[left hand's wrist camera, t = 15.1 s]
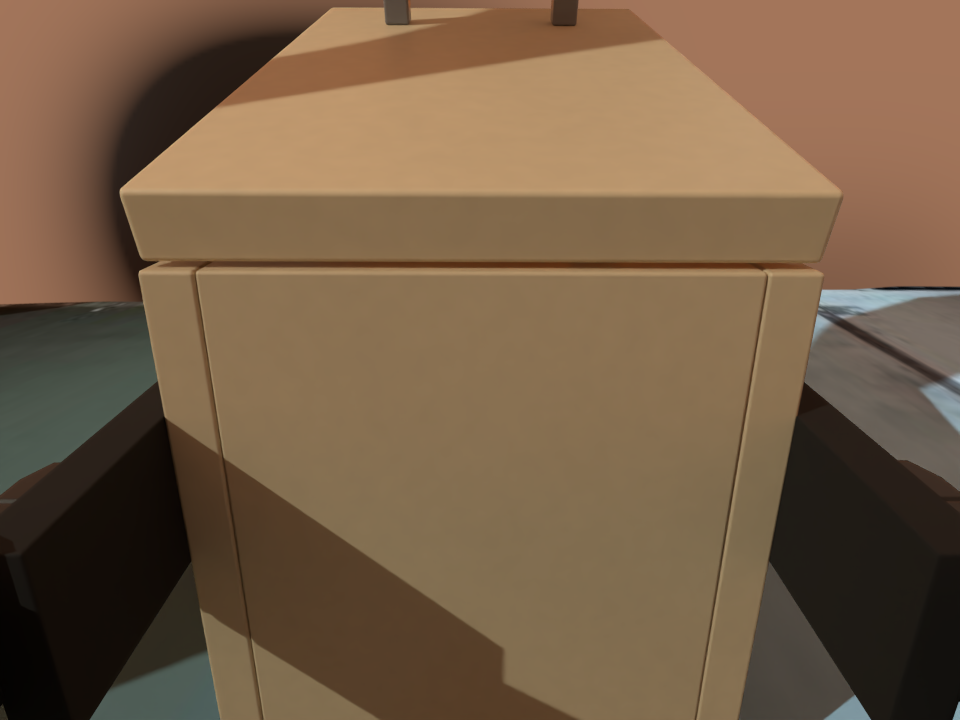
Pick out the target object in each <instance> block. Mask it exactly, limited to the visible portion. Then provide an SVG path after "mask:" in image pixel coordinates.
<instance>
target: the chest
mask: <svg viewBox="0 0 960 720" xmlns="http://www.w3.org/2000/svg"><path fill="white" fill-rule="evenodd" d="M139 280H140V286H141V291H142V297H143V302H144V307H145V313H146V318H147V324H148V329H149V335H150V340H151V345H152V351H153V356H154V362H155V367H156V373H157V378H158V383H159V389H160V394H161V400H162V405H163V411H164V416H165V421H166V427H167V432H168V438H169V443H170V448H171V454H172V459H173V465H174V470H175V476H176V481H177V486H178V492H179V497H180V503H181V508H182V513H183V519H184V524H185V529H186V535H187V540H188V545H189V551H190V556H191V562H192V568H193V573H194V579H195V584H196V589H197V595H198V600H199V606H200V611H201V617H202V622H203V627H204V633H205V638H206V644H207V649H208V655H209V660H210V665H211V671H212V676H213V682H214V687H215V693H216V698H217V703H218V709H219V714H220V720H738V719H739V714H740V709H741V704H742V699H743V694H744V689H745V683H746V678H747V673H748V668H749V663H750V658H751V652H752V647H753V642H754V637H755V632H756V627H757V621H758V616H759V611H760V606H761V601H762V596H763V590H764V585H765V580H766V575H767V570H768V565H769V558H770V553H771V547H772V542H773V537H774V532H775V526H776V521H777V516H778V510H779V505H780V500H781V495H782V489H783V484H784V479H785V474H786V468H787V463H788V458H789V453H790V447H791V442H792V437H793V432H794V426H795V421H796V416H797V415H798V410H799V405H800V399H801V394H802V389H803V384H804V379H805V374H806V368H807V363H808V358H809V353H810V348H811V343H812V338H813V332H814V327H815V322H816V317H817V312H818V307H819V301H820V296H821V291H822V286H823V281H824V274H823V273H821V272H819V271H817V270H815V269H813V268H811V267H809V266H807V265H804V264H802V263H628V262H332V261H160V262H158V263H156V264H154V265H152V266H149V267H147V268H145V269H143V270H141V271H139Z"/></svg>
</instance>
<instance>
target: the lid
mask: <svg viewBox="0 0 960 720" xmlns="http://www.w3.org/2000/svg"><path fill="white" fill-rule="evenodd" d="M120 197H121V200H122V203H123V206H124V209H125V212H126V215H127V218H128V221H129V224H130V227H131V230H132V233H133V236H134V239H135V242H136V245H137V248H138V251H139V254H140V256H141V258H142V259H143V260H146V261H332V262H628V263H818V262H820V261H821V260H822V258H823V255H824V252H825V249H826V247H827V244H828V241H829V238H830V235H831V232H832V229H833V226H834V223H835V220H836V218H837V215H838V212H839V209H840V206H841V203H842V200H843V191H842V190H840V189H839V188H838V187H837V186H836V185H835V184H833V183H832V182H831V181H830V180H829V179H828V178H826V177H825V176H824V175H823V174H822V173H820V172H819V171H818V170H817V169H816V168H815V167H813V166H812V165H811V164H810V163H809V162H808V161H806V160H805V159H804V158H803V157H802V156H801V155H799V154H798V153H797V152H796V151H795V150H794V149H792V148H791V147H790V146H789V145H788V144H787V143H785V142H784V141H783V140H782V139H781V138H779V137H778V136H777V135H776V134H775V133H774V132H772V131H771V130H770V129H769V128H768V127H767V126H765V125H764V124H763V123H762V122H761V121H760V120H758V119H757V118H756V117H755V116H754V115H753V114H751V113H750V112H749V111H748V110H747V109H746V108H744V107H743V106H742V105H741V104H740V103H739V102H737V101H736V100H735V99H734V98H733V97H731V96H730V95H729V94H728V93H727V92H726V91H724V90H723V89H722V88H721V87H720V86H719V85H717V84H716V83H715V82H714V81H713V80H712V79H710V78H709V77H708V76H707V75H706V74H704V73H703V72H702V71H701V70H700V69H699V68H698V67H696V66H695V65H694V64H693V63H692V62H690V61H689V60H688V59H687V58H686V57H685V56H683V55H682V54H681V53H680V52H679V51H678V50H676V49H675V48H674V47H673V46H672V45H671V44H669V43H668V42H667V41H666V40H665V39H664V38H662V37H661V36H660V35H659V34H658V33H656V32H655V31H654V30H653V29H652V28H651V27H649V26H648V25H647V24H646V23H645V22H644V21H642V20H641V19H640V18H639V17H638V16H637V15H635V14H634V13H633V12H632V11H631V10H629V9H578V0H552V3H551V9H503V8H499V9H498V8H411V7H410V0H384V8H332V9H330V10H329V11H328V12H327V13H326V14H324V15H323V16H322V17H321V18H320V19H318V20H317V21H316V22H315V23H314V24H313V25H311V26H310V27H309V28H308V29H307V30H306V31H304V32H303V33H302V34H301V35H300V36H299V37H297V38H296V39H295V40H294V41H293V42H292V43H290V44H289V45H288V46H287V47H286V48H285V49H283V50H282V51H281V52H280V53H279V54H278V55H276V56H275V57H274V58H273V59H272V60H271V61H269V62H268V63H267V64H266V65H265V66H264V67H262V68H261V69H260V70H259V71H258V72H256V73H255V74H254V75H253V76H252V77H251V78H249V79H248V80H247V81H246V82H245V83H244V84H242V85H241V86H240V87H239V88H238V89H237V90H235V91H234V92H233V93H232V94H231V95H230V96H228V97H227V98H226V99H225V100H224V101H223V102H221V103H220V104H219V105H218V106H217V107H216V108H214V109H213V110H212V111H211V112H210V113H209V114H207V115H206V116H205V117H204V118H203V119H202V120H200V121H199V122H198V123H197V124H196V125H195V126H193V127H192V128H191V129H190V130H189V131H188V132H186V133H185V134H184V135H183V136H182V137H181V138H179V139H178V140H177V141H176V142H175V143H173V144H172V145H171V146H170V147H169V148H168V149H167V150H165V151H164V152H163V153H162V154H161V155H159V156H158V157H157V158H156V159H155V160H154V161H152V162H151V163H150V164H149V165H148V166H147V167H146V168H144V169H143V170H142V171H141V172H140V173H138V174H137V175H136V176H135V177H134V178H133V179H131V180H130V181H129V182H128V183H127V184H126V185H124V186H123V187H122V188H121V189H120Z"/></svg>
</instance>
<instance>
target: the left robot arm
mask: <svg viewBox="0 0 960 720" xmlns="http://www.w3.org/2000/svg"><path fill="white" fill-rule="evenodd" d="M769 561H770V563H771V564H772V566H773V567H774V569H775V570H776V572H777V573H778V575H779V577H780V578H781V580H782V581H783V583H784V584H785V586H786V588H787V589H788V591H789V592H790V594H791V595H792V597H793V598H794V600H795V602H796V603H797V605H798V606H799V608H800V609H801V611H802V612H803V614H804V616H805V617H806V619H807V620H808V622H809V623H810V625H811V627H812V628H813V630H814V631H815V633H816V634H817V636H818V637H819V639H820V641H821V642H822V644H823V645H824V647H825V648H826V650H827V651H828V653H829V655H830V656H831V658H832V659H833V661H834V662H835V664H836V666H837V667H838V669H839V670H840V672H841V673H842V675H843V676H844V678H845V680H846V681H847V683H848V684H849V686H850V687H851V689H852V690H853V692H854V694H855V695H856V697H857V698H858V700H859V701H860V703H861V705H862V706H863V708H864V709H865V711H866V712H867V714H868V715H869V717H870V719H871V720H953V717H954V714H955V711H956V708H957V705H958V702H960V492H959V491H958V490H957V489H956V488H954V487H953V486H952V485H951V484H949V483H948V482H947V481H945V480H944V479H943V478H942V477H940V476H938V475H936V474H934V473H932V472H930V471H928V470H926V469H924V468H922V467H920V466H918V465H916V464H913V463H911V462H909V461H907V460H896V459H895V458H894V457H893V456H892V455H890V454H889V453H888V452H887V451H886V450H884V449H883V448H882V447H881V446H880V445H878V444H877V443H876V442H875V441H874V440H872V439H871V438H870V437H869V436H868V435H866V434H865V433H864V432H863V431H862V430H861V429H859V428H858V427H857V426H856V425H855V424H853V423H852V422H851V421H850V420H849V419H847V418H846V417H845V416H844V415H843V414H841V413H840V412H839V411H838V410H837V409H836V408H834V407H833V406H832V405H831V404H830V403H828V402H827V401H826V400H825V399H824V398H822V397H821V396H820V395H819V394H818V393H816V392H815V391H814V390H813V389H812V388H810V387H809V386H808V385H807V384H806V383H805V382H804V384H803V389H802V394H801V399H800V405H799V410H798V415H797V416H796V421H795V426H794V432H793V437H792V442H791V447H790V453H789V458H788V463H787V468H786V474H785V479H784V484H783V489H782V495H781V500H780V505H779V510H778V516H777V521H776V526H775V532H774V537H773V542H772V547H771V553H770V558H769ZM190 562H191V556H190V551H189V545H188V540H187V535H186V529H185V524H184V519H183V513H182V508H181V503H180V497H179V492H178V486H177V481H176V476H175V470H174V465H173V459H172V454H171V448H170V443H169V438H168V432H167V427H166V421H165V416H164V411H163V405H162V400H161V394H160V389H159V383H158V381H157V382H156V383H155V384H154V385H153V386H151V387H150V388H149V389H148V390H147V391H145V392H144V393H143V394H142V395H141V396H140V397H138V398H137V399H136V400H135V401H134V402H132V403H131V404H130V405H129V406H128V407H126V408H125V409H124V410H123V411H122V412H120V413H119V414H118V415H117V416H116V417H115V418H113V419H112V420H111V421H110V422H109V423H107V424H106V425H105V426H104V427H103V428H101V429H100V430H99V431H98V432H97V433H95V434H94V435H93V436H92V437H91V438H89V439H88V440H87V441H86V442H85V443H84V444H82V445H81V446H80V447H79V448H78V449H76V450H75V451H74V452H73V453H72V454H70V455H69V456H68V457H67V458H66V459H64V460H63V461H62V462H61V463H52V464H50V465H48V466H46V467H44V468H42V469H40V470H38V471H36V472H34V473H32V474H30V475H28V476H26V477H24V478H22V479H20V480H19V481H18V482H16V483H15V484H14V485H13V486H11V487H10V488H9V489H8V490H6V491H5V492H4V493H3V494H1V495H0V706H1V705H2V704H3V705H4V708H5V711H6V714H7V717H8V720H90V718H91V717H92V715H93V713H94V712H95V710H96V709H97V707H98V706H99V704H100V703H101V701H102V699H103V698H104V696H105V695H106V693H107V692H108V690H109V688H110V687H111V685H112V684H113V682H114V681H115V679H116V678H117V676H118V674H119V673H120V671H121V670H122V668H123V667H124V665H125V664H126V662H127V660H128V659H129V657H130V656H131V654H132V653H133V651H134V649H135V648H136V646H137V645H138V643H139V642H140V640H141V639H142V637H143V635H144V634H145V632H146V631H147V629H148V628H149V626H150V624H151V623H152V621H153V620H154V618H155V617H156V615H157V614H158V612H159V610H160V609H161V607H162V606H163V604H164V603H165V601H166V600H167V598H168V596H169V595H170V593H171V592H172V590H173V589H174V587H175V585H176V584H177V582H178V581H179V579H180V578H181V576H182V575H183V573H184V571H185V570H186V568H187V567H188V565H189V564H190Z"/></svg>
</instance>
